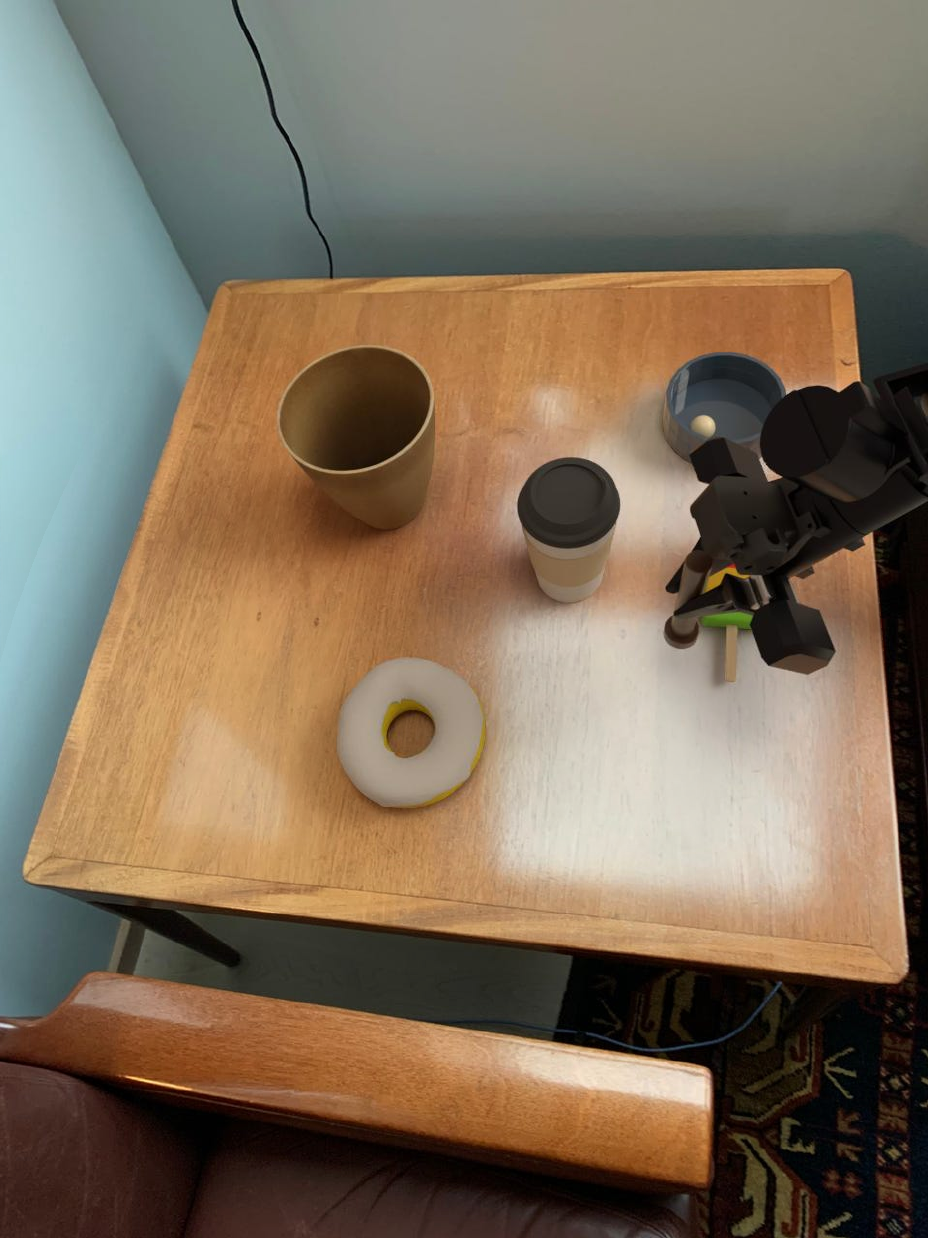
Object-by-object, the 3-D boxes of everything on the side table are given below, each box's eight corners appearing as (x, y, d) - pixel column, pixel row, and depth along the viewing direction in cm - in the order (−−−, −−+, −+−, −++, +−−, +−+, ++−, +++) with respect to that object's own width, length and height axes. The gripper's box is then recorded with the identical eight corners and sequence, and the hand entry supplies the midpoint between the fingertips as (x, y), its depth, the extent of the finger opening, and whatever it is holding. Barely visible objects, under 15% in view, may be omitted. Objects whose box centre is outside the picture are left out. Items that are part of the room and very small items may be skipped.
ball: (700, 421, 93) (703, 405, 90) (718, 435, 92) (722, 419, 89) (683, 435, 92) (685, 420, 90) (701, 449, 91) (704, 434, 89)
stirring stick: (691, 615, 77) (711, 539, 65) (703, 644, 75) (725, 573, 64) (658, 623, 77) (672, 549, 65) (669, 653, 75) (686, 583, 64)
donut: (444, 840, 77) (436, 828, 73) (315, 777, 81) (300, 762, 77) (511, 705, 82) (507, 686, 78) (386, 652, 86) (376, 630, 82)
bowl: (715, 362, 97) (721, 333, 93) (801, 423, 92) (811, 394, 88) (639, 424, 94) (642, 397, 90) (723, 489, 90) (730, 464, 86)
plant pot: (411, 424, 98) (382, 319, 84) (482, 512, 92) (464, 416, 78) (298, 490, 96) (248, 394, 82) (363, 586, 90) (322, 500, 76)
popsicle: (760, 547, 86) (764, 537, 85) (760, 687, 80) (764, 680, 78) (703, 543, 87) (705, 534, 86) (698, 682, 81) (701, 674, 79)
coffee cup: (516, 604, 87) (505, 525, 73) (535, 528, 90) (527, 439, 77) (606, 619, 85) (611, 540, 71) (621, 540, 88) (629, 451, 75)
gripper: (735, 358, 59) (577, 484, 69) (833, 595, 51) (636, 698, 61) (821, 409, 66) (665, 516, 76) (919, 625, 58) (730, 714, 68)
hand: (672, 603), depth 70 cm, fingers closed on stirring stick, 2 cm apart
